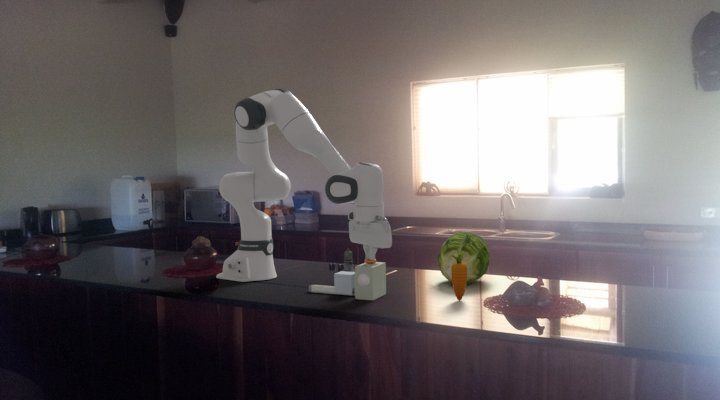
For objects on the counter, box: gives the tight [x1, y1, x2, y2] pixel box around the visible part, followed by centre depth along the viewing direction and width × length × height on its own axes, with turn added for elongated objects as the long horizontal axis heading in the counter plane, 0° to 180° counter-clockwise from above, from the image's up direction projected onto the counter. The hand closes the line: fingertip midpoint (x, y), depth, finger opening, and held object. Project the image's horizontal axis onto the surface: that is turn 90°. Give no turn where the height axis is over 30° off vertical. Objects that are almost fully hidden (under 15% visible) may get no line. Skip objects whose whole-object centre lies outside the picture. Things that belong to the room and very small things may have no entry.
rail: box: [308, 284, 355, 297], centre depth 190 cm, size 18×2×2 cm, turn 65°
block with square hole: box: [354, 261, 387, 301], centre depth 184 cm, size 6×10×10 cm, turn 155°
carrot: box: [451, 250, 467, 302], centre depth 177 cm, size 5×5×15 cm
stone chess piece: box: [342, 247, 355, 272], centre depth 209 cm, size 6×6×12 cm
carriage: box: [333, 270, 355, 296], centre depth 188 cm, size 6×5×6 cm
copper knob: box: [364, 258, 377, 266], centre depth 184 cm, size 4×4×6 cm
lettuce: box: [437, 231, 491, 285], centre depth 203 cm, size 17×23×17 cm
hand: (370, 259), depth 184 cm, fingers closed, pressing on copper knob
